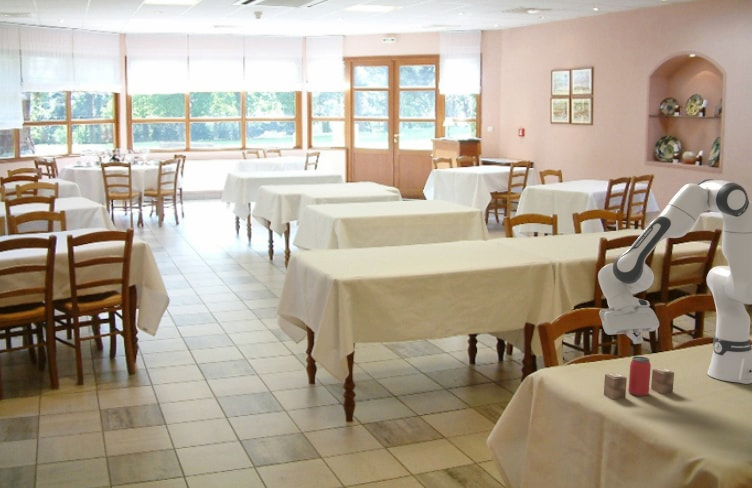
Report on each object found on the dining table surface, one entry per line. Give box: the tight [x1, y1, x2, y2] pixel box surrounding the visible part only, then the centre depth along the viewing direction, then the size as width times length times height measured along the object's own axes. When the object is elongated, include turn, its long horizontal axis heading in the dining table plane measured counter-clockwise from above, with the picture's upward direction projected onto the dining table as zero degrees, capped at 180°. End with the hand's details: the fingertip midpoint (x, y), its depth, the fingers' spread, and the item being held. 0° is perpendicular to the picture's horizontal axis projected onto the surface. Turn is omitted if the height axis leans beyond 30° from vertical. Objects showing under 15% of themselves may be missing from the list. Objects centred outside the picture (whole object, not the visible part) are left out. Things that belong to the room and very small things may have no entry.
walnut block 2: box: [650, 367, 675, 395], centre depth 301 cm, size 5×5×7 cm
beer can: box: [627, 356, 652, 397], centre depth 297 cm, size 7×7×12 cm
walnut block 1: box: [603, 372, 628, 400], centre depth 294 cm, size 5×5×7 cm
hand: (638, 342), depth 297 cm, fingers closed
